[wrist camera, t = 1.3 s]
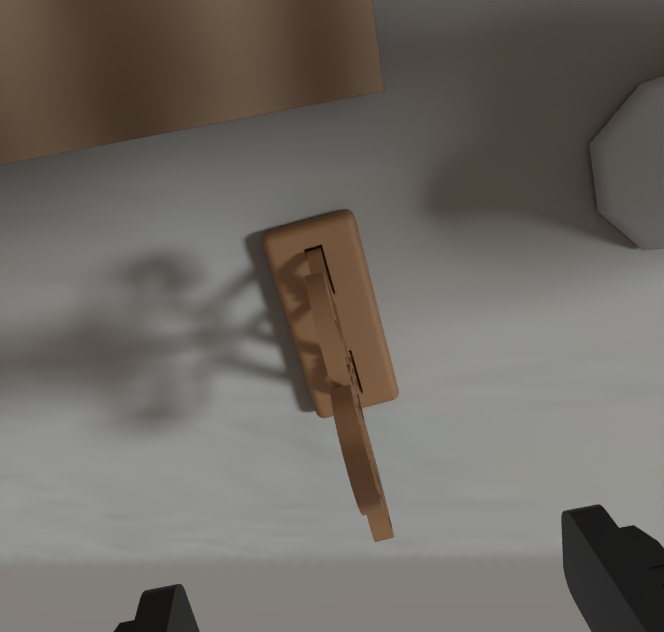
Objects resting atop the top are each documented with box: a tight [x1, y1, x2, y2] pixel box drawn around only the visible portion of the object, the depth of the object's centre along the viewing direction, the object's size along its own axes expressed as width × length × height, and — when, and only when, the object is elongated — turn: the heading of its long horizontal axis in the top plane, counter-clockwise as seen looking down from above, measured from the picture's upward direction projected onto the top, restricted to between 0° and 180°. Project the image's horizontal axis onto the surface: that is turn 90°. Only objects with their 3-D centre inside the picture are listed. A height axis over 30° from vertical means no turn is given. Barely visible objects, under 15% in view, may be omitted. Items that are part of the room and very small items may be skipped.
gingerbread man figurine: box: [262, 209, 399, 542], centre depth 21 cm, size 9×4×12 cm, turn 15°
